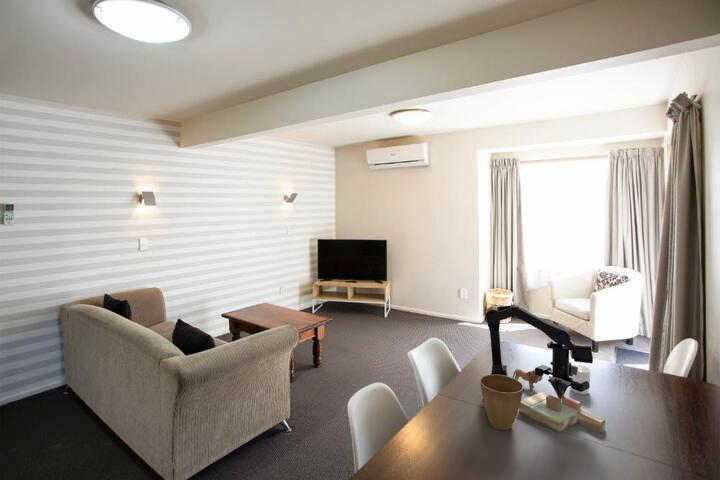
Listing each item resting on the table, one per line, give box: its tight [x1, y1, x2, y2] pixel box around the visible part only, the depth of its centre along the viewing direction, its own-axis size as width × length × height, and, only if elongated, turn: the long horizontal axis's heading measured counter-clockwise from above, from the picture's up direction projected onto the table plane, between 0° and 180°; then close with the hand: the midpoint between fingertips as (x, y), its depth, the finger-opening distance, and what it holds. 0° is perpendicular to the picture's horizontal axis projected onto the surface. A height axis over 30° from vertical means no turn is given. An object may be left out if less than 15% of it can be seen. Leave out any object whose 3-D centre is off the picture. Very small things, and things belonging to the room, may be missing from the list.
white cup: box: [569, 364, 591, 395], centre depth 156 cm, size 8×8×10 cm
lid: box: [530, 394, 583, 423], centre depth 135 cm, size 15×11×6 cm
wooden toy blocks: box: [518, 391, 606, 434], centre depth 133 cm, size 15×24×4 cm, turn 30°
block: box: [561, 395, 582, 410], centre depth 135 cm, size 2×6×2 cm, turn 30°
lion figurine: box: [512, 368, 543, 391], centre depth 162 cm, size 15×5×9 cm, turn 45°
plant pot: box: [479, 374, 524, 431], centre depth 132 cm, size 15×15×16 cm
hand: (560, 398), depth 139 cm, fingers closed
